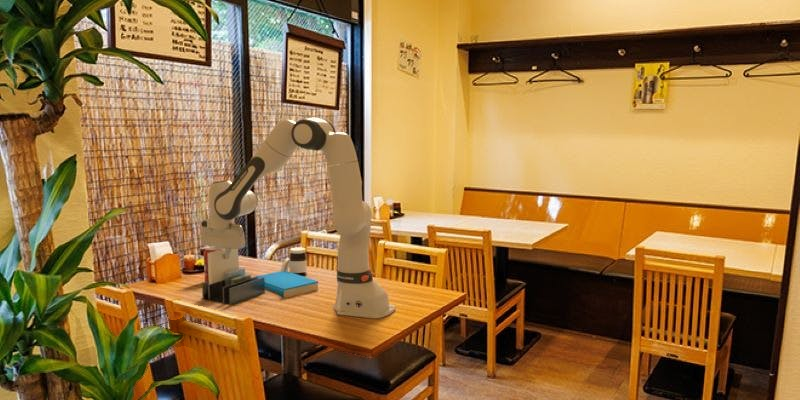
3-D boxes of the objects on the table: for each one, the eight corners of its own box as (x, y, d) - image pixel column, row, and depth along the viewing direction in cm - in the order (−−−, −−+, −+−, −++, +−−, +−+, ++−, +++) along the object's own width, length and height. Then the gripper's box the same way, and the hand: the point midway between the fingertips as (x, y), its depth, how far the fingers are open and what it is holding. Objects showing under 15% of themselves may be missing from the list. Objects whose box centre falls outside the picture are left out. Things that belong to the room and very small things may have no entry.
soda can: (218, 285, 227) (217, 250, 225) (201, 284, 228) (199, 249, 226) (227, 280, 234) (226, 246, 233) (210, 279, 236) (209, 245, 234)
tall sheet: (239, 286, 216) (238, 246, 214) (212, 295, 204) (210, 253, 202) (236, 285, 217) (235, 246, 215) (209, 294, 205) (207, 252, 203)
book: (284, 270, 238) (319, 280, 221) (284, 280, 239) (319, 290, 222) (249, 277, 226) (283, 288, 209) (249, 287, 227) (283, 299, 209)
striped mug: (307, 276, 242) (307, 250, 240) (281, 277, 239) (280, 251, 238) (305, 270, 253) (305, 245, 252) (281, 271, 251) (280, 246, 249)
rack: (266, 295, 213) (265, 270, 211) (232, 308, 197) (231, 281, 196) (235, 290, 220) (234, 265, 219) (200, 301, 204) (199, 275, 203)
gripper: (248, 223, 205) (249, 259, 207) (209, 219, 215) (211, 254, 216) (236, 225, 200) (237, 262, 201) (196, 222, 209) (198, 257, 211)
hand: (223, 258), depth 209 cm, fingers closed on tall sheet, 2 cm apart
